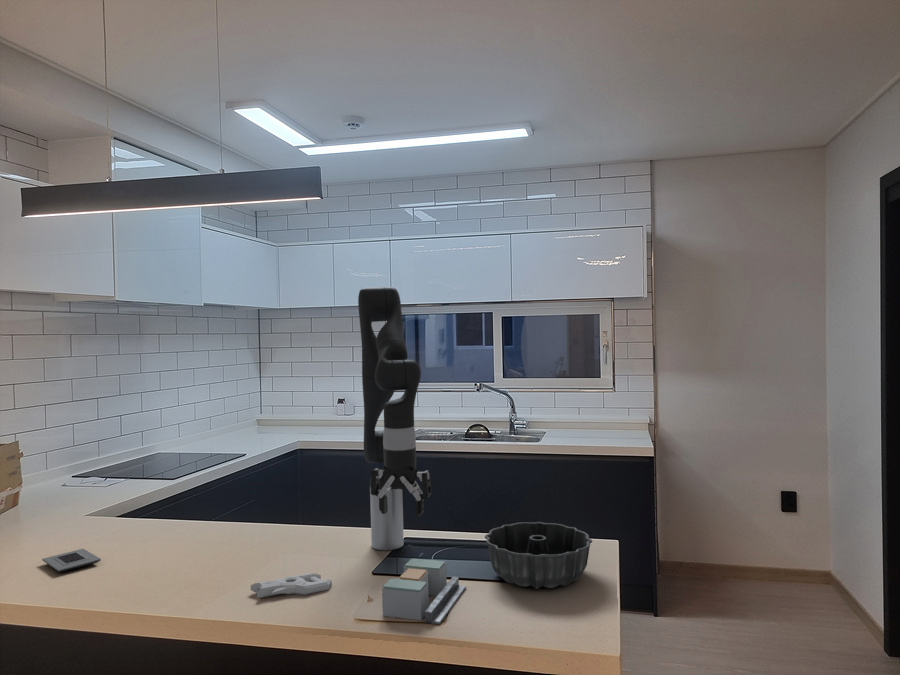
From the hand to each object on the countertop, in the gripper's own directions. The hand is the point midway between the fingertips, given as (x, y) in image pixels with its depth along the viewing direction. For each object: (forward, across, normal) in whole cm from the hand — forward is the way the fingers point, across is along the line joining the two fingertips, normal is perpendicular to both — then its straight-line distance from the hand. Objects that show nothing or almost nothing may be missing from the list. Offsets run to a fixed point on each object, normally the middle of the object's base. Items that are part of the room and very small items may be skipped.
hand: (401, 514), depth 157 cm
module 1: (+20, -3, +2) cm, 20 cm away
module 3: (+20, -4, -4) cm, 20 cm away
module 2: (+19, -4, +9) cm, 22 cm away
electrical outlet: (+21, +97, +2) cm, 99 cm away
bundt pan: (+20, -29, -19) cm, 40 cm away
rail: (+19, -10, +2) cm, 22 cm away
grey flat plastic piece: (+20, +28, +3) cm, 34 cm away
